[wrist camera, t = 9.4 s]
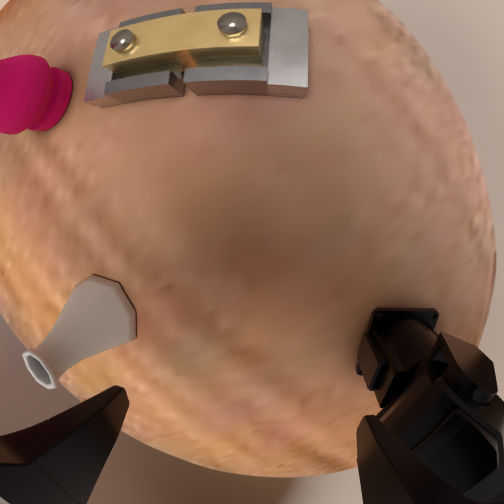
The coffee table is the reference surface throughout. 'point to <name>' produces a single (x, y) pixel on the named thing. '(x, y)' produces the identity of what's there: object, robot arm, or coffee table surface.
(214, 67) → the grey metal base
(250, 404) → the coffee table surface
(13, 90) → the pepper mill
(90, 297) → the flask
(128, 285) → the coffee table surface
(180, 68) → the link bar
